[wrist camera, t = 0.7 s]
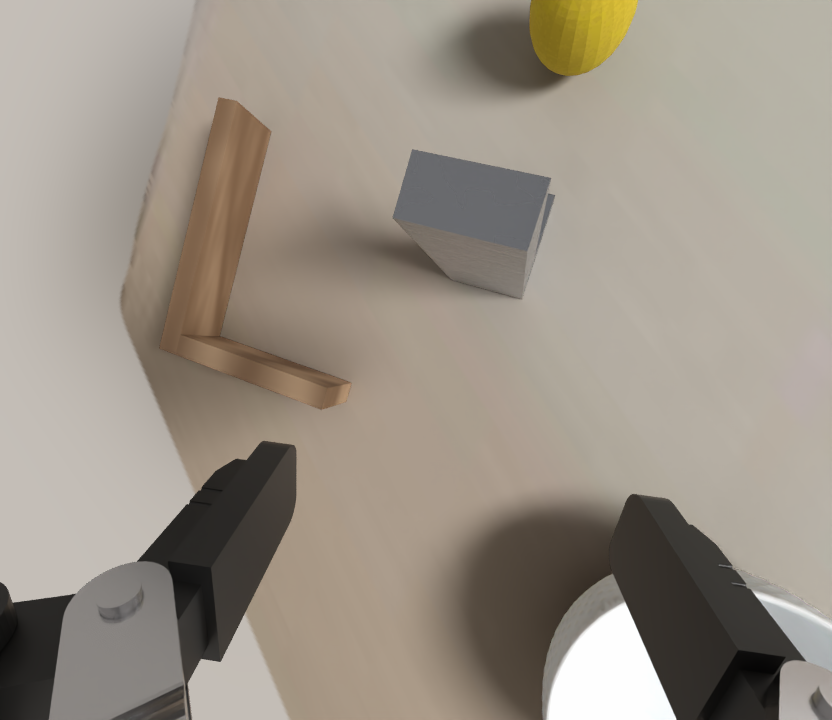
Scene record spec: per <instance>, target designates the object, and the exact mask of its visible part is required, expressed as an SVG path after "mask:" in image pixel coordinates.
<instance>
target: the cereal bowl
mask: <svg viewBox="0 0 832 720" xmlns="http://www.w3.org/2000/svg"><path fill="white" fill-rule="evenodd" d="M732 569H733V568H732ZM733 570H736V571H737V572H738V574H739V575H740V576H741V577H742V579H743V580H744V581H745V583H746V587H747V588H749V589H751V590H752V592H753V593H754V594H755V596H756V597H757V598H758V599H759V601H760V602H761V603H762V605H763V606H764V607H765V608H766V610H767V611H768V612H769V614H770V615H771V616H772V617H773V619H774V620H775V621H776V623H777V624H778V625H779V627H780V628H781V629H782V630H783V632H784V633H785V634H786V636H787V637H788V638H789V639H790V641H791V642H792V643H793V645H794V646H795V647H796V648H797V650H798V651H799V652H800V654H801V655H802V656H803V658H804V659H805V660H806V661H807V662H809V663H813V664H816V665H818V666H821V667H823V668H825V669H827V670H829V671H831V672H832V619H830V618H829V617H827V616H825V615H824V614H823V613H821V612H820V611H819V610H818V609H817V608H815V607H813V606H811V605H809V604H808V603H807V602H805V601H804V600H803V599H801V598H799V597H798V596H796V595H794V594H792V593H790V592H788V591H787V590H785V589H783V588H781V587H779V586H777V585H774V584H772V583H770V582H769V581H767V580H765V579H763V578H759V577H757V576H754V575H752V574H750V573H747V572H745V571H742V570H737V569H733ZM542 685H543V691H542V704H543V706H542V714H543V720H676V717H675V715H674V713H673V710H672V708H671V706H670V704H669V701H668V699H667V697H666V694H665V692H664V690H663V688H662V685H661V683H660V681H659V678H658V676H657V674H656V671H655V669H654V667H653V665H652V662H651V660H650V658H649V655H648V653H647V651H646V649H645V646H644V644H643V642H642V639H641V637H640V635H639V633H638V630H637V628H636V626H635V623H634V621H633V619H632V617H631V614H630V612H629V610H628V607H627V605H626V603H625V600H624V598H623V596H622V594H621V591H620V589H619V587H618V584H617V582H616V580H615V578H614V575H613V573H612V574H611V575H609V576H607V577H605V578H604V579H602V580H600V581H598V582H597V583H596V584H595V585H593V586H591V587H590V588H589V589H588V590H587V591H585V592H584V593H583V594H582V595H581V596H580V597H579V598H578V599H577V600H576V601H575V602H574V603H573V605H572V606H571V607H570V608H569V610H568V611H567V613H565V614H564V616H563V618H562V620H561V622H560V624H559V626H558V627H557V629H556V631H555V634H554V637H553V638H552V640H551V644H550V648H549V651H548V654H547V658H546V664H545V667H544V677H543V682H542Z"/></svg>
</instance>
